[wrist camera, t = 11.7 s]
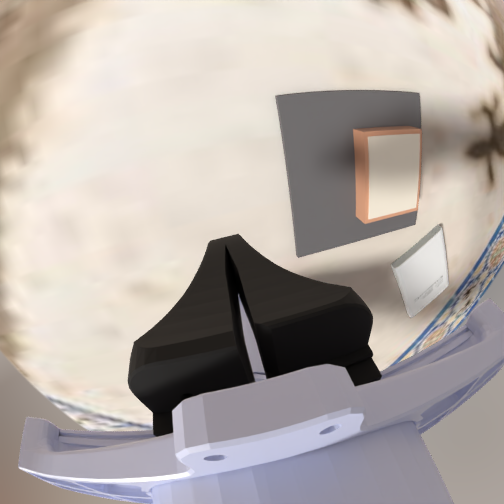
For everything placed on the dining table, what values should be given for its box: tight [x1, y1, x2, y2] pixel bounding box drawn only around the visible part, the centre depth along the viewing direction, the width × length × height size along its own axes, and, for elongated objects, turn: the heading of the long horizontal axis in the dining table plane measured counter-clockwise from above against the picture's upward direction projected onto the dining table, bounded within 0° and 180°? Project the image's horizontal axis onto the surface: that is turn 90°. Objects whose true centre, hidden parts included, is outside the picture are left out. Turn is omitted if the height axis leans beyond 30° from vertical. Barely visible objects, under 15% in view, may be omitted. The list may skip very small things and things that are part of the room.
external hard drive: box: [391, 225, 449, 318], centre depth 31 cm, size 2×8×12 cm
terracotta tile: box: [353, 126, 422, 224], centre depth 21 cm, size 8×2×6 cm
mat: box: [275, 90, 421, 258], centre depth 21 cm, size 14×14×1 cm
